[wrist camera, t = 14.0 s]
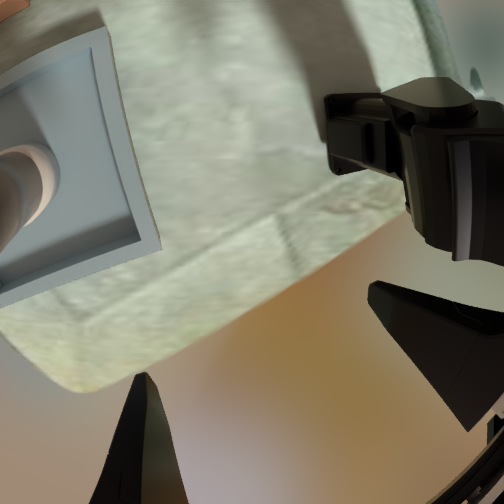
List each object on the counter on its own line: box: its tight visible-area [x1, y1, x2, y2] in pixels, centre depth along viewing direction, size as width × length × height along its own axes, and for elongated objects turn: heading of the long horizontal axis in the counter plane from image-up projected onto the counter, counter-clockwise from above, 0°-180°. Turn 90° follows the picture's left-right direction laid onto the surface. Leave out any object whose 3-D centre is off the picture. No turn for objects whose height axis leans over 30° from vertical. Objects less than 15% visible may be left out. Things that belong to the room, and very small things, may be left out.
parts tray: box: [0, 26, 162, 308], centre depth 13 cm, size 14×14×2 cm
